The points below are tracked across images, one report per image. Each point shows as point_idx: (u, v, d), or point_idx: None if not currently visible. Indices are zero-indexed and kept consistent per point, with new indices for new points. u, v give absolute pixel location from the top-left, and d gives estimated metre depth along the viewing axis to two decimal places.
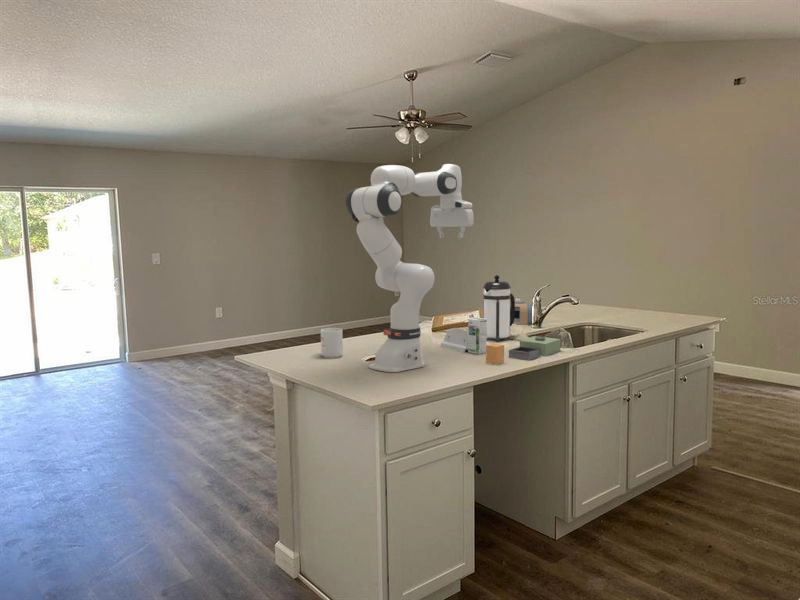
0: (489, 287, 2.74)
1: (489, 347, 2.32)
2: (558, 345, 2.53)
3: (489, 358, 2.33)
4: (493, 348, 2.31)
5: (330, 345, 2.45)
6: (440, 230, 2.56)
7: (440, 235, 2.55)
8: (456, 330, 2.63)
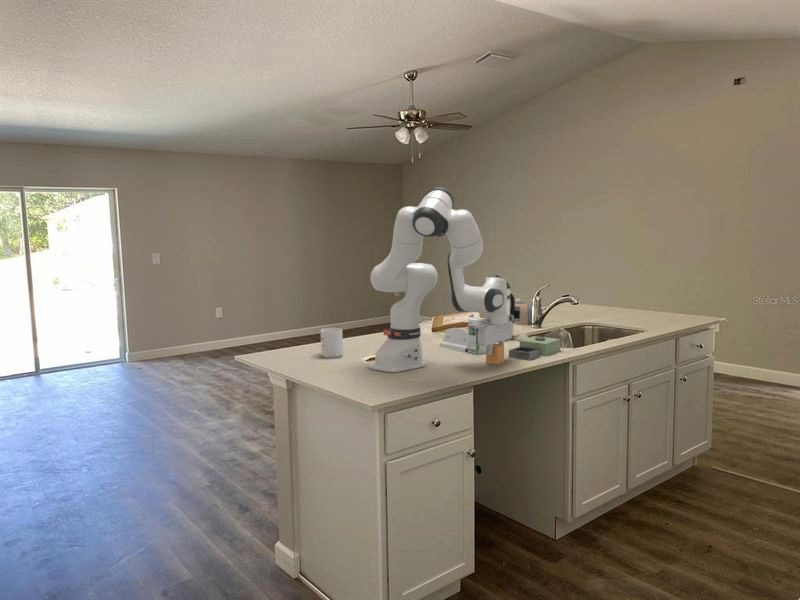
0: None
1: None
2: (558, 345, 2.53)
3: (489, 358, 2.33)
4: (493, 348, 2.31)
5: (330, 345, 2.45)
6: None
7: (492, 352, 2.31)
8: (455, 330, 2.63)
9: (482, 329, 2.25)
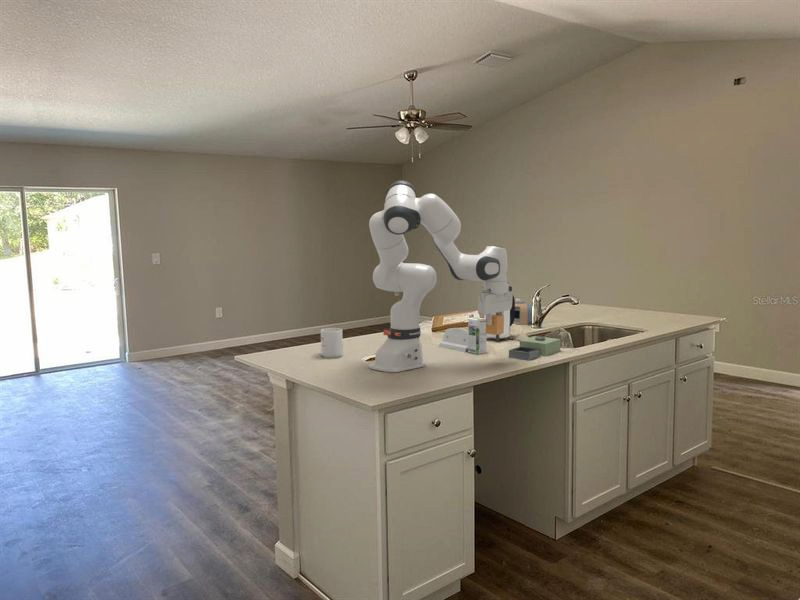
0: None
1: None
2: (558, 345, 2.53)
3: (489, 329, 2.32)
4: (493, 318, 2.30)
5: (330, 345, 2.45)
6: None
7: (492, 322, 2.29)
8: (455, 330, 2.63)
9: (482, 298, 2.24)
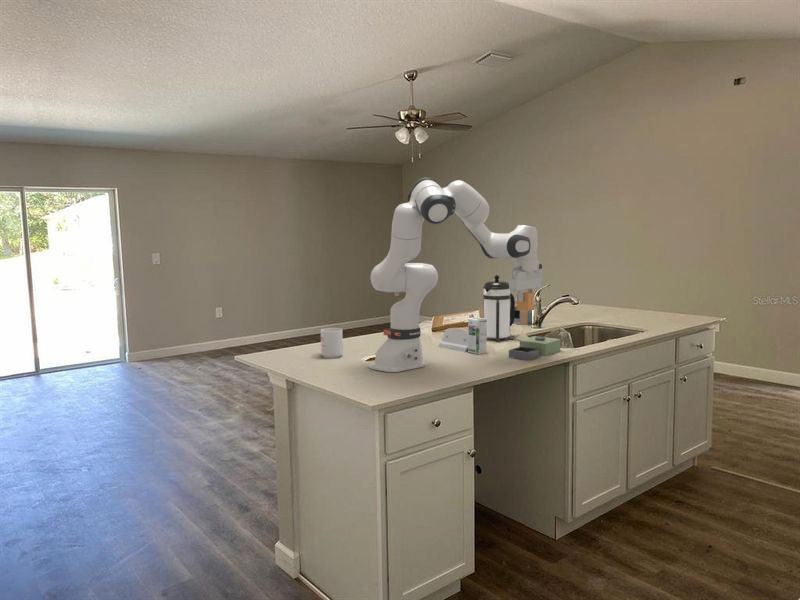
0: (489, 287, 2.74)
1: None
2: (558, 345, 2.53)
3: (520, 305, 2.40)
4: (524, 294, 2.38)
5: (330, 345, 2.45)
6: None
7: (523, 299, 2.38)
8: (455, 330, 2.63)
9: (514, 275, 2.32)
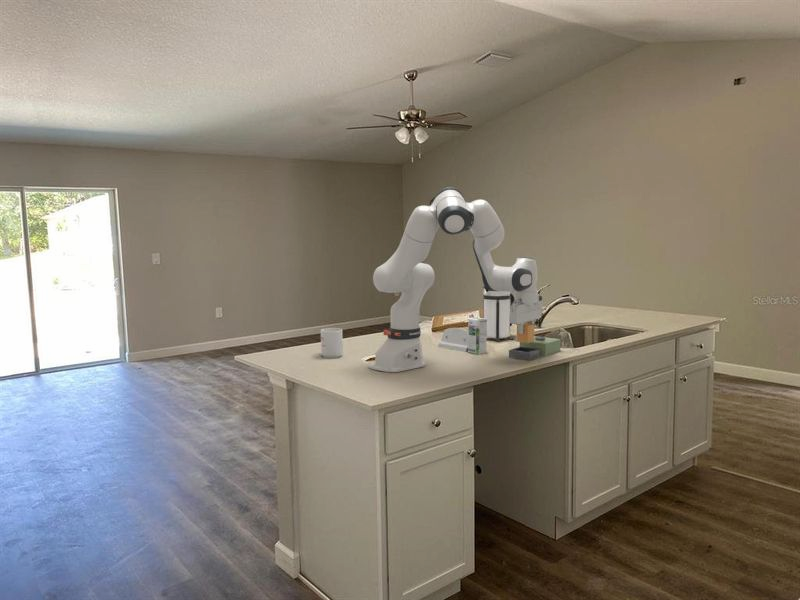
0: None
1: None
2: (558, 345, 2.53)
3: (520, 337, 2.41)
4: (524, 327, 2.39)
5: (330, 345, 2.45)
6: None
7: (523, 331, 2.39)
8: (454, 330, 2.63)
9: (514, 308, 2.33)
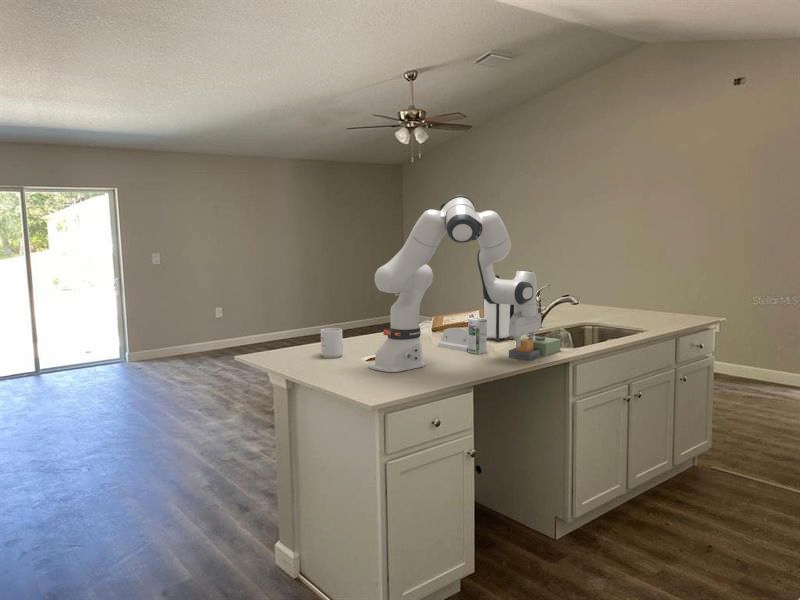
0: None
1: None
2: (558, 345, 2.53)
3: None
4: (523, 343, 2.41)
5: (330, 345, 2.45)
6: None
7: (520, 344, 2.39)
8: (454, 330, 2.64)
9: (513, 321, 2.34)
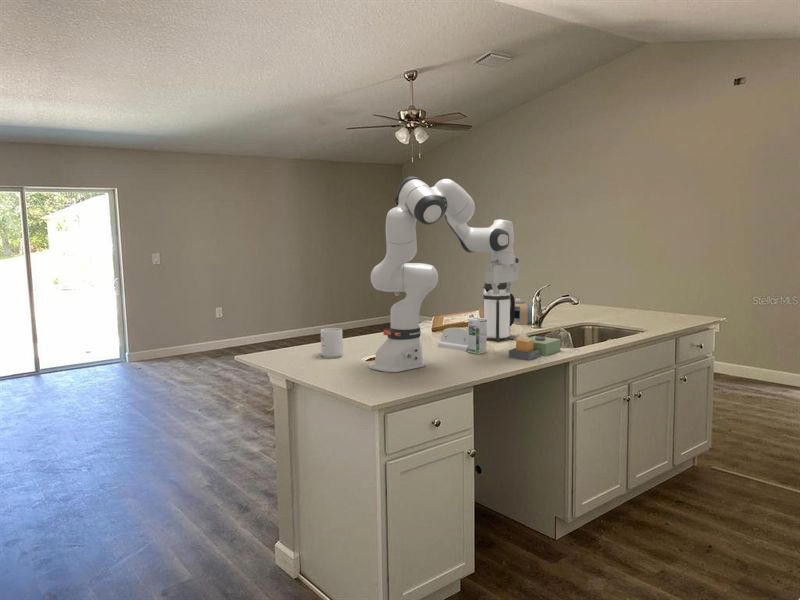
0: (489, 287, 2.74)
1: (519, 342, 2.42)
2: (558, 345, 2.53)
3: None
4: (523, 343, 2.41)
5: (330, 345, 2.45)
6: None
7: (497, 292, 2.42)
8: (454, 330, 2.64)
9: (490, 268, 2.37)
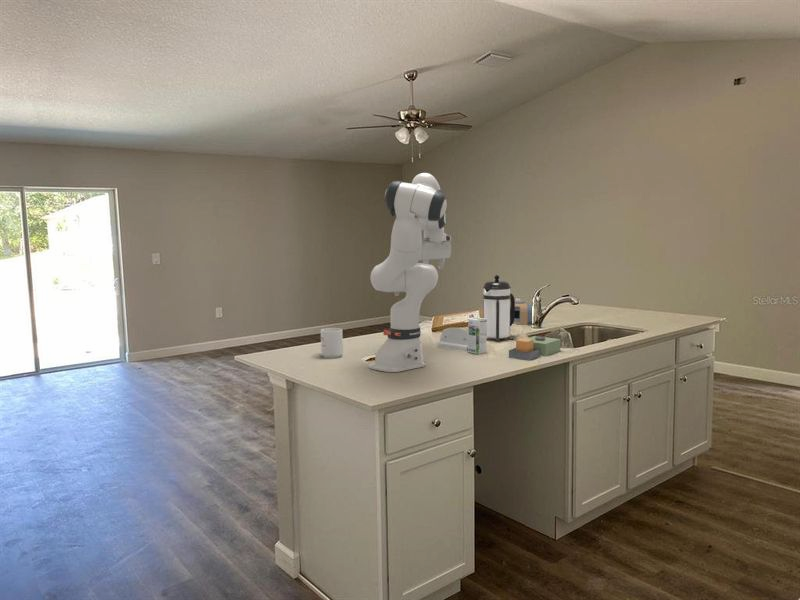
0: (489, 287, 2.74)
1: (519, 342, 2.42)
2: (558, 345, 2.53)
3: None
4: (523, 343, 2.41)
5: (330, 345, 2.45)
6: None
7: None
8: (453, 330, 2.64)
9: (420, 245, 2.53)
